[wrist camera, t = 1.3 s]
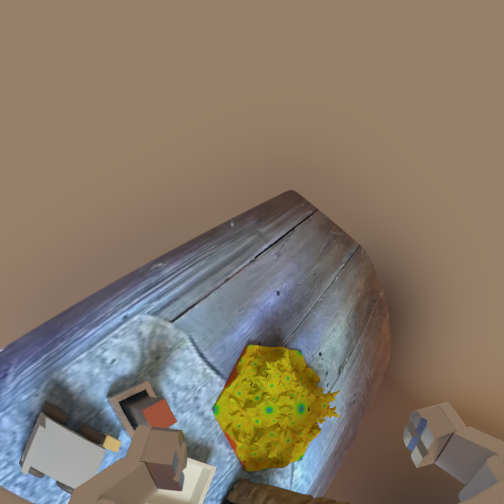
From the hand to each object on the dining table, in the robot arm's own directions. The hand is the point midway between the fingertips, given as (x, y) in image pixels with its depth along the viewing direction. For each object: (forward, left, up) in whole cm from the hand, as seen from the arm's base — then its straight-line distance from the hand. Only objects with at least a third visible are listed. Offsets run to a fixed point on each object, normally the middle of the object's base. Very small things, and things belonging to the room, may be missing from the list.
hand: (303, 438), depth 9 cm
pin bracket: (+7, +1, -41) cm, 41 cm away
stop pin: (+7, +1, -41) cm, 41 cm away
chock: (+5, -6, -41) cm, 42 cm away
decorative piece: (+34, +12, -42) cm, 55 cm away
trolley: (-1, -11, -41) cm, 42 cm away
